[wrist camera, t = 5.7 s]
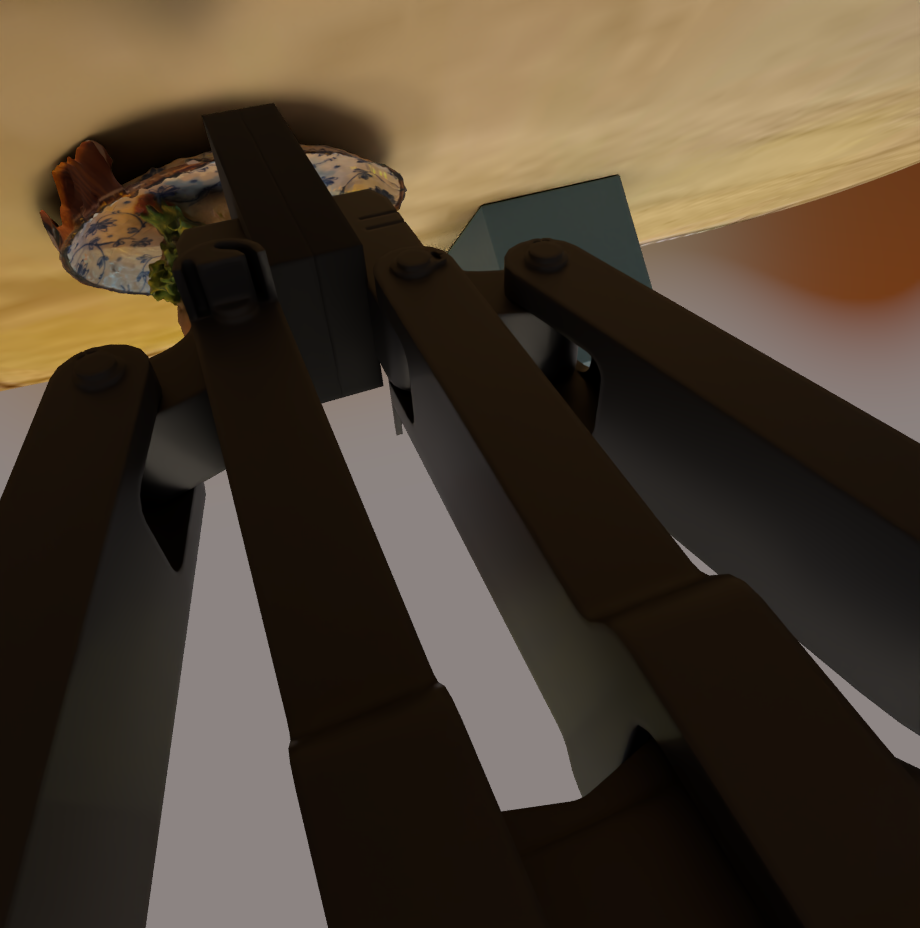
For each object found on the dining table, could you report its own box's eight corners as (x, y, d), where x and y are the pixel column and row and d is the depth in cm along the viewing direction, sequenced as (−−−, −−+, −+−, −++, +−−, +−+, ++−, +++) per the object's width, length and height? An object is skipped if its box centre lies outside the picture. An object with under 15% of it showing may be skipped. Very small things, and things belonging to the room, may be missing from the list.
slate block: (444, 255, 43) (487, 397, 43) (481, 205, 35) (532, 378, 36) (561, 227, 45) (601, 363, 45) (619, 174, 37) (667, 338, 37)
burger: (430, 172, 29) (483, 348, 29) (190, 271, 32) (241, 430, 32) (297, 33, 17) (388, 328, 17) (-61, 209, 20) (22, 459, 20)
